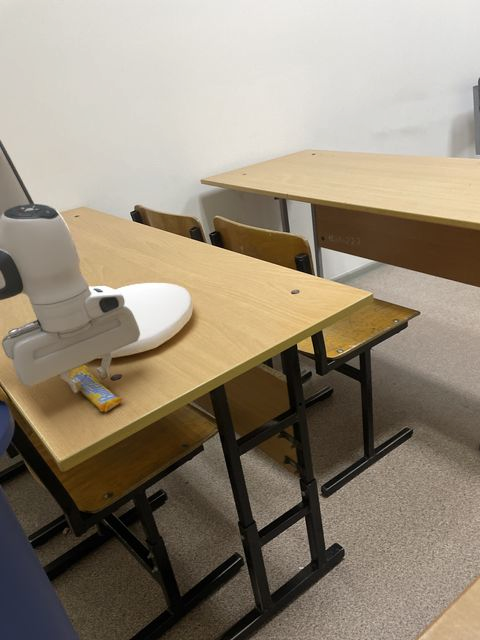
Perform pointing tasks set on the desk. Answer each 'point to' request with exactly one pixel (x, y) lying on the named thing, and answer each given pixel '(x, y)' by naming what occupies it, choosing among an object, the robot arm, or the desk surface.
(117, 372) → the desk surface
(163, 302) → the plate
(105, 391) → the candy bar
